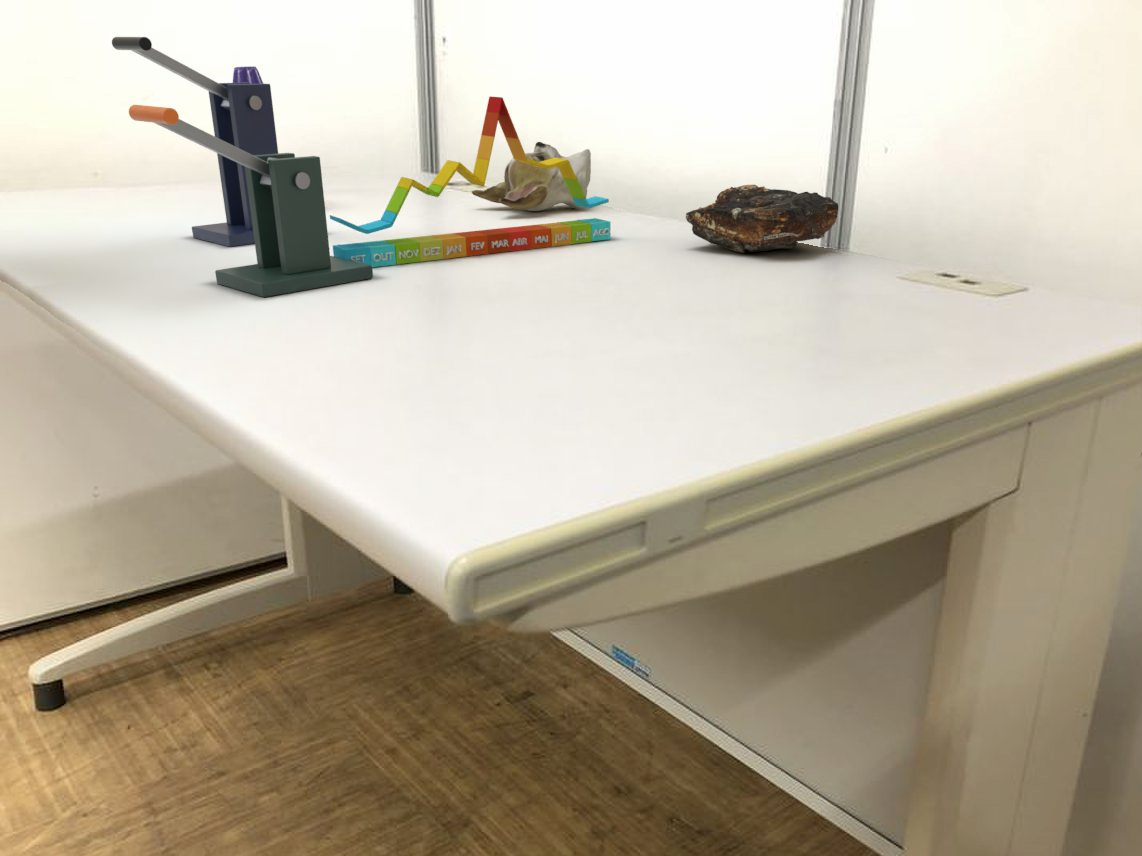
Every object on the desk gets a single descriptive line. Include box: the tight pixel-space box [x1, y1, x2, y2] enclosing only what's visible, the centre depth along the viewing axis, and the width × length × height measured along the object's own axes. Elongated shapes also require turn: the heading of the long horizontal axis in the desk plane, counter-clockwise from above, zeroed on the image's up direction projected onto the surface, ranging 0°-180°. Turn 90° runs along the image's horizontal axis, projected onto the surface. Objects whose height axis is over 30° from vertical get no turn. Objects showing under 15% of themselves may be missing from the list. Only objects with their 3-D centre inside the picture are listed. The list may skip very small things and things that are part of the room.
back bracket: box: [191, 82, 279, 248], centre depth 114 cm, size 11×8×16 cm
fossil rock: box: [685, 184, 839, 254], centre depth 112 cm, size 14×14×6 cm
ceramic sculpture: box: [471, 141, 592, 212], centre depth 135 cm, size 11×9×15 cm
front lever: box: [128, 104, 277, 189], centre depth 88 cm, size 14×6×2 cm, turn 138°
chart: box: [329, 96, 612, 268], centre depth 106 cm, size 30×3×15 cm, turn 126°
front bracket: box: [214, 152, 374, 298], centre depth 93 cm, size 11×8×11 cm
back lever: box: [111, 36, 230, 111], centre depth 107 cm, size 14×6×2 cm, turn 138°
